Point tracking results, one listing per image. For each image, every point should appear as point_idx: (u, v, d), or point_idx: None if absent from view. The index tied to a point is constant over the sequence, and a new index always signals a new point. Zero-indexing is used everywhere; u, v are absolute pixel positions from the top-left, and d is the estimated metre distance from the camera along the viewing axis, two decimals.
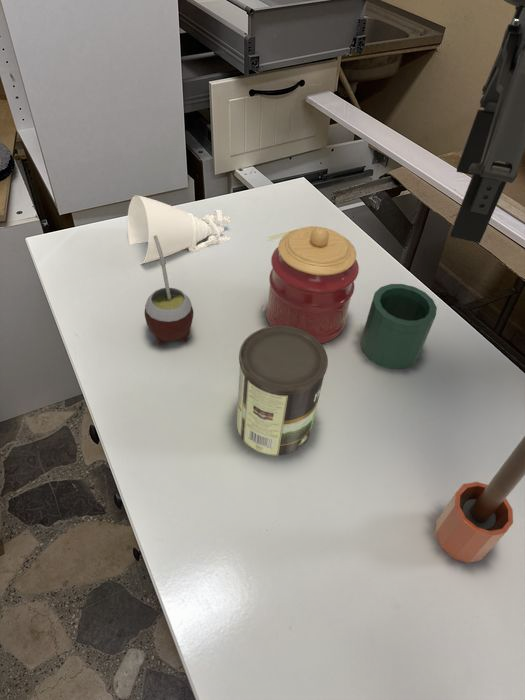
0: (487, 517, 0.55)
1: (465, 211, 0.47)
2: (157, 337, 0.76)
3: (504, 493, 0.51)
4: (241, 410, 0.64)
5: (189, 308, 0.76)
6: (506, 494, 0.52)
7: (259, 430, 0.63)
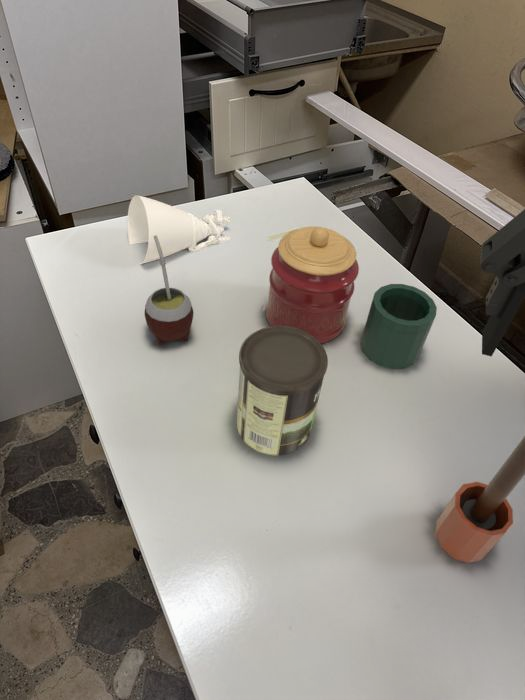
0: (487, 517, 0.55)
1: None
2: (157, 337, 0.76)
3: (504, 493, 0.51)
4: (241, 410, 0.64)
5: (189, 308, 0.76)
6: (506, 494, 0.52)
7: (259, 430, 0.63)
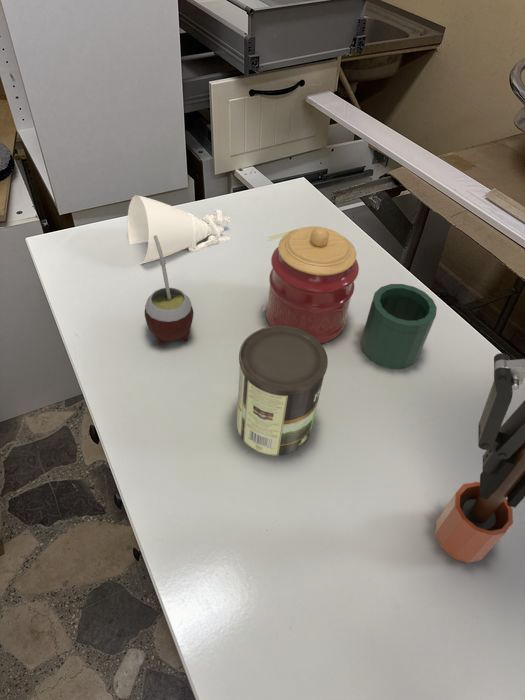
0: (487, 517, 0.55)
1: None
2: (157, 337, 0.76)
3: (504, 493, 0.51)
4: (241, 410, 0.64)
5: (189, 308, 0.76)
6: (506, 494, 0.52)
7: (259, 430, 0.63)
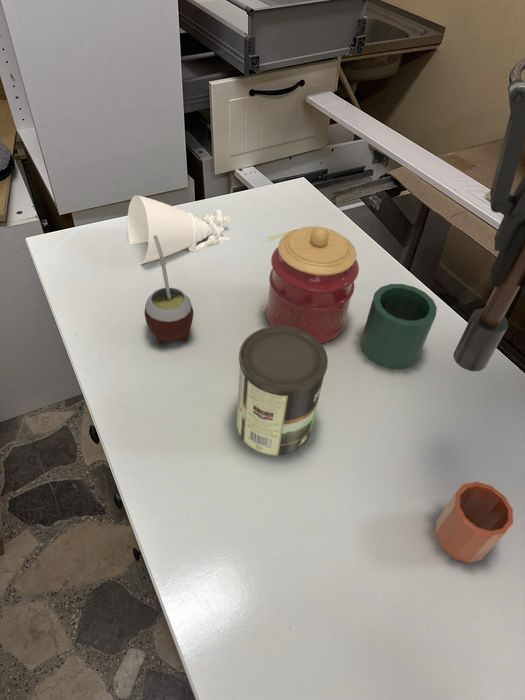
0: (499, 318, 0.52)
1: None
2: (157, 337, 0.76)
3: (517, 277, 0.48)
4: (241, 410, 0.64)
5: (189, 308, 0.76)
6: (520, 279, 0.49)
7: (259, 430, 0.63)
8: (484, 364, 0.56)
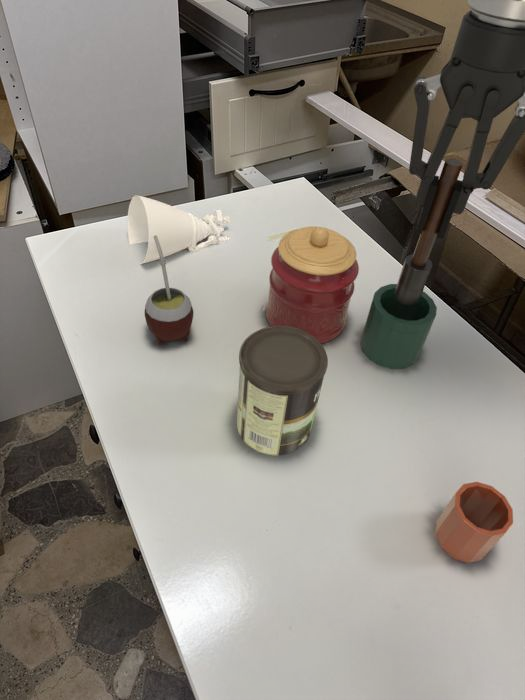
0: (424, 259, 0.68)
1: (450, 218, 0.63)
2: (157, 337, 0.76)
3: (433, 225, 0.65)
4: (241, 410, 0.64)
5: (189, 308, 0.76)
6: (436, 227, 0.65)
7: (259, 430, 0.63)
8: (416, 299, 0.72)
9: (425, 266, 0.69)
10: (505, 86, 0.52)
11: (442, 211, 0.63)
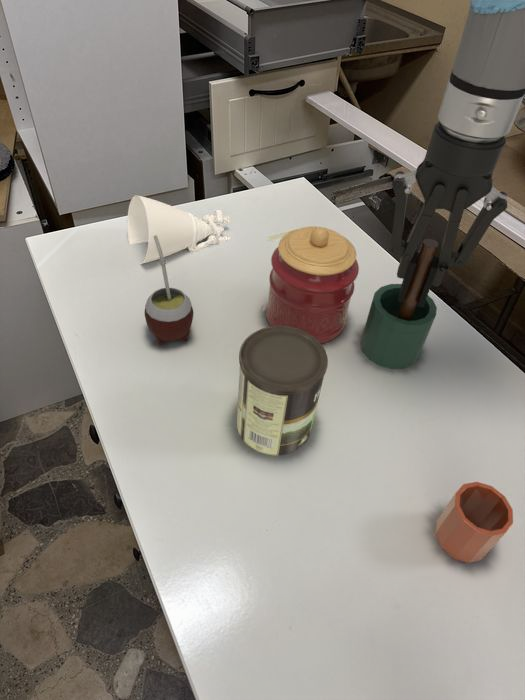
0: None
1: (429, 289, 0.69)
2: (157, 337, 0.76)
3: (414, 295, 0.71)
4: (241, 410, 0.64)
5: (189, 308, 0.76)
6: (416, 297, 0.71)
7: (259, 430, 0.63)
8: None
9: None
10: (473, 185, 0.58)
11: (421, 283, 0.69)
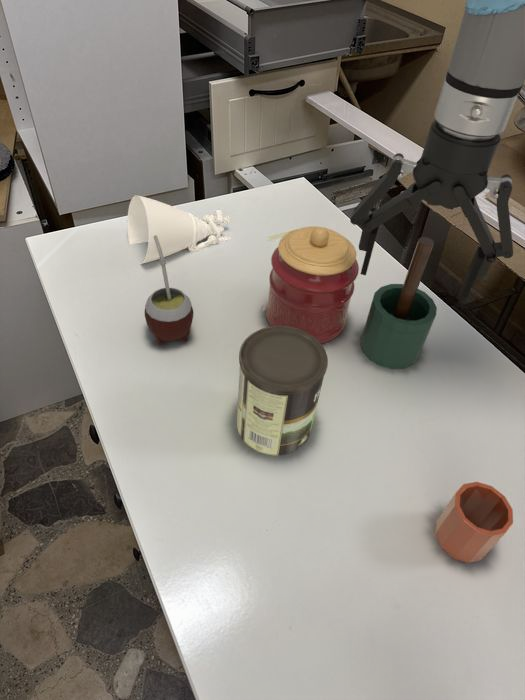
0: None
1: None
2: (157, 337, 0.76)
3: (410, 292, 0.72)
4: (241, 410, 0.64)
5: (189, 308, 0.76)
6: (412, 294, 0.72)
7: (259, 430, 0.63)
8: None
9: None
10: (469, 182, 0.60)
11: (417, 281, 0.71)
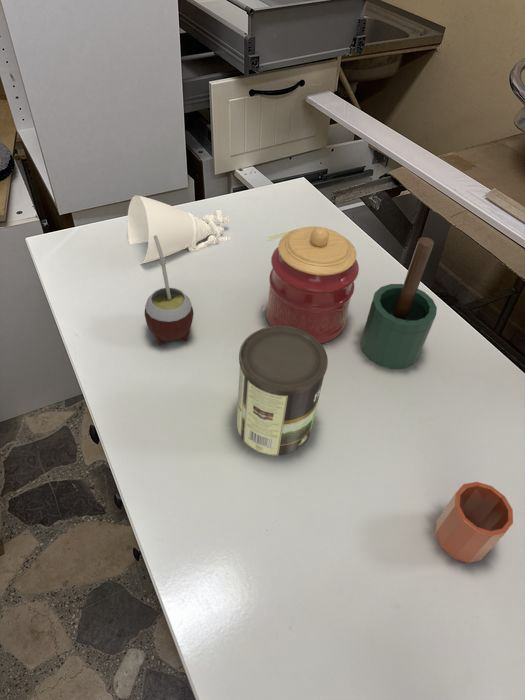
0: None
1: None
2: (157, 337, 0.76)
3: (410, 292, 0.72)
4: (241, 410, 0.64)
5: (189, 308, 0.76)
6: (412, 294, 0.72)
7: (259, 430, 0.63)
8: None
9: None
10: None
11: (417, 281, 0.71)
